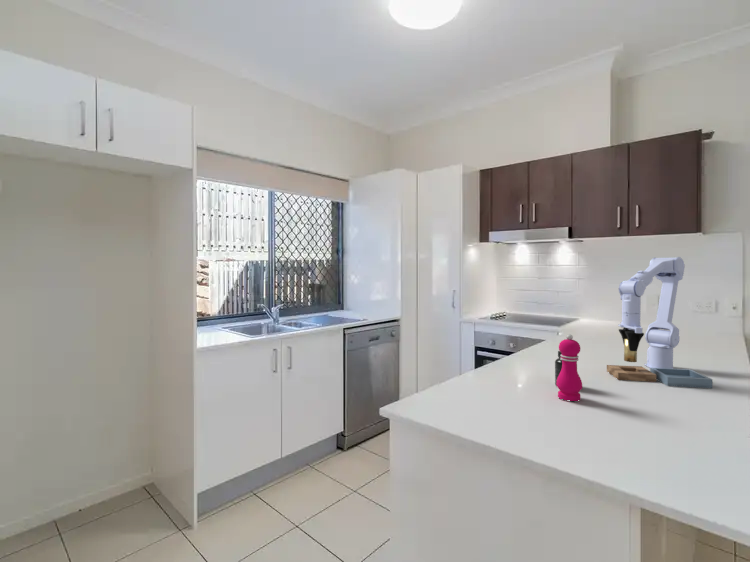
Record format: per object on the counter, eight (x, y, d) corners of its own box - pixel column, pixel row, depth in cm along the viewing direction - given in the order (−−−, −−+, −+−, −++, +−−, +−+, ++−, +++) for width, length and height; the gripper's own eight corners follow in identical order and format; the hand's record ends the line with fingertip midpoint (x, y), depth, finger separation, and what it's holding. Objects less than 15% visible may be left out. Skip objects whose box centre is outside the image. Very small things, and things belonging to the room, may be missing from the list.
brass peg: (622, 359, 148) (622, 338, 148) (634, 359, 147) (634, 338, 147) (626, 361, 144) (626, 340, 144) (638, 362, 143) (639, 340, 143)
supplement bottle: (572, 383, 137) (572, 349, 137) (580, 389, 131) (580, 353, 130) (551, 383, 138) (552, 349, 138) (559, 389, 131) (559, 353, 131)
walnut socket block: (606, 371, 153) (606, 364, 153) (641, 372, 150) (641, 366, 150) (618, 379, 141) (618, 373, 141) (656, 381, 139) (656, 374, 139)
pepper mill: (585, 403, 118) (586, 336, 117) (559, 401, 119) (560, 336, 119) (578, 395, 125) (578, 332, 124) (553, 394, 126) (554, 332, 126)
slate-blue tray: (650, 375, 147) (650, 367, 146) (690, 377, 144) (690, 369, 143) (667, 385, 134) (667, 377, 134) (712, 388, 131) (712, 379, 131)
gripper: (611, 310, 153) (611, 345, 153) (626, 315, 139) (626, 353, 139) (632, 310, 151) (631, 346, 152) (649, 315, 137) (648, 354, 138)
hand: (630, 349), depth 146 cm, fingers closed on brass peg, 4 cm apart
